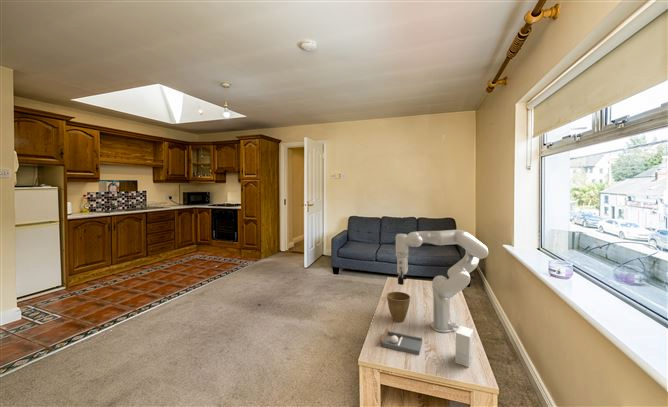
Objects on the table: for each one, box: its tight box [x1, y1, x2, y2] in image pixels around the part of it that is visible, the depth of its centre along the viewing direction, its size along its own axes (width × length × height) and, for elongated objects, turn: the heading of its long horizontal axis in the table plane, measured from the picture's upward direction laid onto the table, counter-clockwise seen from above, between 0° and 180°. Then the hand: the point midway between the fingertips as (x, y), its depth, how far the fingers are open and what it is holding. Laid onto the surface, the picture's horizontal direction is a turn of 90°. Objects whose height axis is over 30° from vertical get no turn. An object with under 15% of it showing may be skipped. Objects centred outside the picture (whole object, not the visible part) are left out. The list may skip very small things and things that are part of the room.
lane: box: [380, 328, 423, 356], centre depth 148 cm, size 20×13×4 cm, turn 65°
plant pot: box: [386, 291, 411, 323], centre depth 175 cm, size 15×15×16 cm
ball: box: [391, 335, 398, 343], centre depth 149 cm, size 4×4×4 cm
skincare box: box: [454, 325, 474, 368], centre depth 132 cm, size 8×7×16 cm
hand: (402, 281), depth 165 cm, fingers open, 9 cm apart
